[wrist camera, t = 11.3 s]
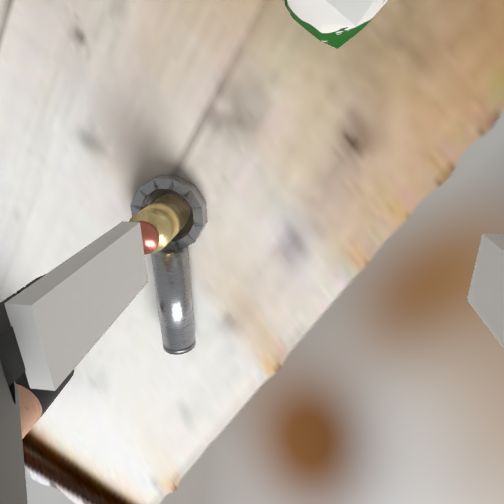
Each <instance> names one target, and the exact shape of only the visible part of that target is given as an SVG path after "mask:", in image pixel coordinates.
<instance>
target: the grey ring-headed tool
mask: <svg viewBox="0 0 504 504" xmlns="http://www.w3.org/2000/svg"><path fill="white" fill-rule="evenodd" d="M156 189H172V190H173V191H175V192H177V193H179V194H180V195H182V196H184V197H185V198H186V200H187V202H188V203H189V205H190V206H191V208H192V209H193V220H194V224H193V226H192V228H191V230H190V232H188V233H186V234H184V235H182V236H175V237H174V238H173V239H172V240H171V241H170V242H169V243H168V244H167V245H166V246H165V247H164V248H163V249H162V250H161V251H158V252H155V253H151V254H152V262H153V270H154V278H155V286H156V294H157V301H158V309H159V317H160V325H161V333H162V341H163V348H164V350H165V351H166V352H167V353H170V354H184V353H187V352H189V351H190V350H192V349H193V348H194V346H195V344H196V341H195V329H194V318H193V306H192V294H191V283H190V271H189V259H188V248H187V246H188V245H190V244H192V243H194V242H195V241H196V240H197V239H198V237H199V236H200V234H201V232H202V230H203V228H204V227H205V225H206V223H207V209H206V202H205V200H204V199H203V197H202V196H201V194H200V192H199V191H198V189H197V188H196V186H194V185H193V184H191V183H189V182H188V181H186V180H184V179H182V178H181V177H179V176H158V177H156V178H154V179H153V180H151V181H149V182H148V183H146V184H145V185H143V186H141V187H140V188H138V190H137V192H136V194H135V197H134V199H133V201H132V204H131V211H132V217H133V216H134V215H135V214H137V213H138V212H140V211H141V210H142V209H144V208H145V207H147V201H148V199H149V197H150V195H151V192H153V191H154V190H156Z"/></svg>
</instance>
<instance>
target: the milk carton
mask: <svg viewBox="0 0 504 504" xmlns="http://www.w3.org/2000/svg"><path fill="white" fill-rule="evenodd" d="M386 2H387V0H285V5H286V7H287V9H288V11H289V12H290V14H291V16H292V17H293V18H294V20H296V21H297V22H298V23H299V24H300V25H302V26H303V27H304V28H305V29H306V30H308V31H309V32H310V33H311V34H312V35H314V36H315V37H316V38H317V39H319V40H320V41H322V42H325V43H327V44H329V45H331V46H333V47H335V48H337V49H338V48H339V47H340V46H342V45H343V44H344V43H345V42H347V41H348V40H349V39H350V38H352V37H353V36H354V35H356V34H357V33H358V32H359V31H360V30H362V29H363V28H364V27H365V26H366V25H367V24H368V23H369V22H370V20H371V19H372V18H373V17H374V16H375V15H376V13H377V12H378V11H379V10H380V9H381V7H382V6H384V4H385V3H386Z"/></svg>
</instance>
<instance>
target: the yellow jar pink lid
mask: <svg viewBox="0 0 504 504" xmlns="http://www.w3.org/2000/svg"><path fill="white" fill-rule="evenodd" d="M189 218H190V210H189V207H188V205H187V203H186V202H185V201H184V200H183V199H182V198H181V197H179V196H177V195H175V194H165V195H163V196H161V197H160V198H158V199H157V200H155V201H154V202H152V203H151V204H150V205H148V206H147V207H145V208H144V209H142V210H141V211H140V212H138V213H137V214H135V215H134V216H133V217H132V218H131V219H130V221H129V222H140V226H141V234H142V241H143V249H144V254H149V253H155V252H158V251H161V250H162V249H163V248H164V247H165V246H166V245H167V244H168V243H169V242H170V241H171V240H172V239H173V238H174V237H175V236H176V235H177V234H178V232H179V231H180V230H181V229H182V228H183V227H184V226H185V225H186V224H187V222H188V221H189Z"/></svg>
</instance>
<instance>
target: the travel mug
mask: <svg viewBox="0 0 504 504" xmlns="http://www.w3.org/2000/svg"><path fill="white" fill-rule="evenodd" d="M73 373H74V369H73V370H72V372H71V373H70V374H69V375H68V376H67V378H66V379H65V380H64V381H63V382H62V383H61V385H60V386H59V387H58V388H57V389H56V390H55V391H51V390H41V389H31V388H30V386H29V383H28V380H27V377H26V373H25V372H24V373H23V374H22V375H21V376H20V377H19V378H18V379H17V380H16V381H15V383H16V386H17V389H18V394H19V406H20V419H21V431H22V439H23V438H24V436H25V435H26V434H27V433H28V432H29V431H30V429H31V428H32V427H33V426H34V425H35V423H36V422H37V421H38V420H39V419H40V417H41V416H42V415H43V414H44V412H45V411H46V410H47V408H48V407H49V406H50V405H51V403H52V402H53V401H54V399H55V398H56V397H57V396H58V394H59V393H60V392H61V390H62V389H63V388H64V387H65V385H66V384H67V383H68V381H69V380H70V379H71V377H72V376H73Z"/></svg>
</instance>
